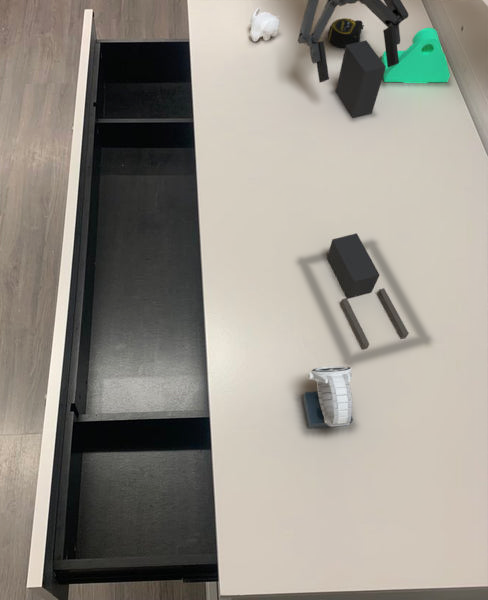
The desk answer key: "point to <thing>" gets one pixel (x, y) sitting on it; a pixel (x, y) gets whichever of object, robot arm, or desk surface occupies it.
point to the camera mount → (419, 61)
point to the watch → (329, 398)
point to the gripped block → (359, 79)
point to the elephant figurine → (263, 25)
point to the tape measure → (344, 32)
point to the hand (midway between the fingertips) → (359, 73)
